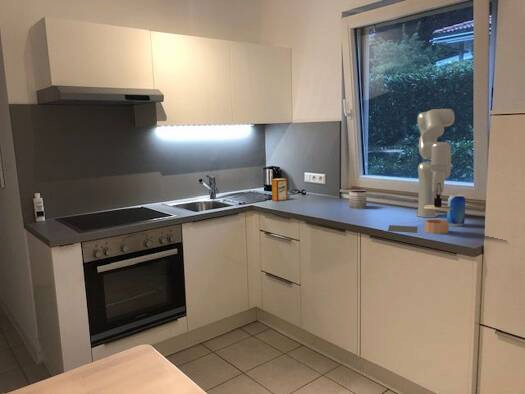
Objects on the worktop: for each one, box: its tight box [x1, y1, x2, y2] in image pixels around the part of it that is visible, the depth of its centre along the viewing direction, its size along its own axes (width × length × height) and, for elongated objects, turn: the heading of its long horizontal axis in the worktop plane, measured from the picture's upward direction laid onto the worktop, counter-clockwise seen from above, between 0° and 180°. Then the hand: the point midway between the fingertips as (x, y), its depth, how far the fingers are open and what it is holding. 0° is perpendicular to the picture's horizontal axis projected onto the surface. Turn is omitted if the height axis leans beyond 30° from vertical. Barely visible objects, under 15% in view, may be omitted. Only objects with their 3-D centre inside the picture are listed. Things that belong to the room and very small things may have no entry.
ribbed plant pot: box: [348, 189, 368, 210], centre depth 283 cm, size 11×11×12 cm
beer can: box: [446, 193, 466, 227], centre depth 228 cm, size 8×8×16 cm
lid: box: [424, 204, 451, 212], centre depth 212 cm, size 12×12×6 cm
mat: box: [387, 224, 418, 234], centre depth 221 cm, size 14×14×1 cm
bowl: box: [424, 218, 450, 235], centre depth 214 cm, size 11×11×5 cm
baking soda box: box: [271, 177, 288, 203], centre depth 318 cm, size 10×6×16 cm
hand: (437, 205), depth 212 cm, fingers closed on lid, 2 cm apart
